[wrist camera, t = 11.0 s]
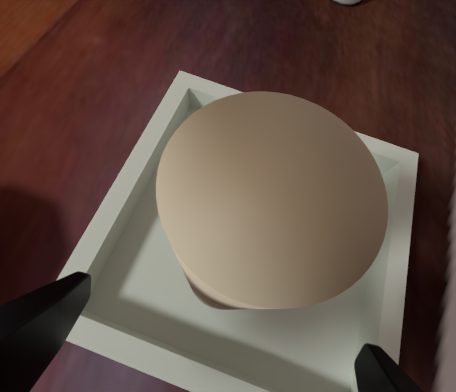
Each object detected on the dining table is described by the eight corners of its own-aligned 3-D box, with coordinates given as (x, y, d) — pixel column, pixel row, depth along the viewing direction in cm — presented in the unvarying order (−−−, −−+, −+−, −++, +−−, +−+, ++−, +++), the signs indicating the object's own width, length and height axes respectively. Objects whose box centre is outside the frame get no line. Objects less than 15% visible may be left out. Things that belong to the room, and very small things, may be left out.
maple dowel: (217, 326, 16) (267, 375, 4) (173, 265, 17) (108, 161, 5) (273, 276, 17) (432, 203, 5) (228, 223, 18) (279, 62, 6)
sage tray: (356, 444, 15) (388, 472, 13) (57, 322, 16) (29, 325, 14) (393, 171, 22) (418, 153, 20) (182, 97, 23) (179, 70, 20)
